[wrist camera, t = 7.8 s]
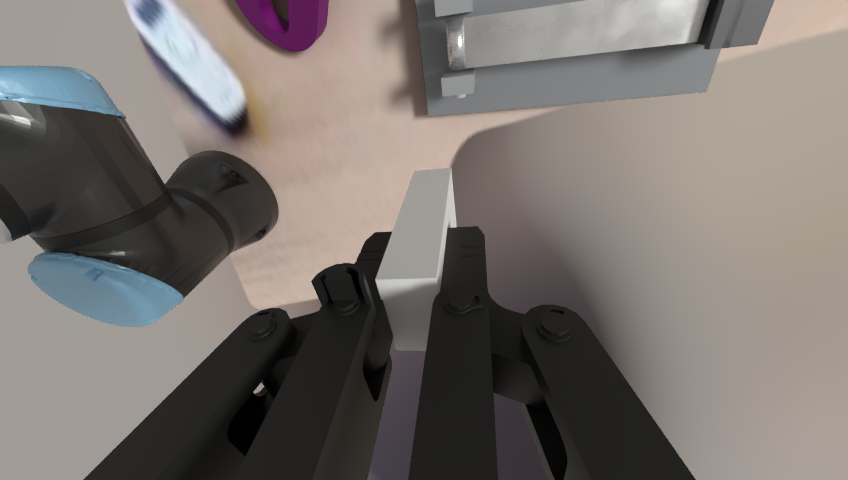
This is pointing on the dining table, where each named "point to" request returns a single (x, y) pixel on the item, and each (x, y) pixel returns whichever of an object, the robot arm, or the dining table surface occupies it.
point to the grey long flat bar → (571, 30)
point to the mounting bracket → (303, 25)
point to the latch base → (576, 61)
